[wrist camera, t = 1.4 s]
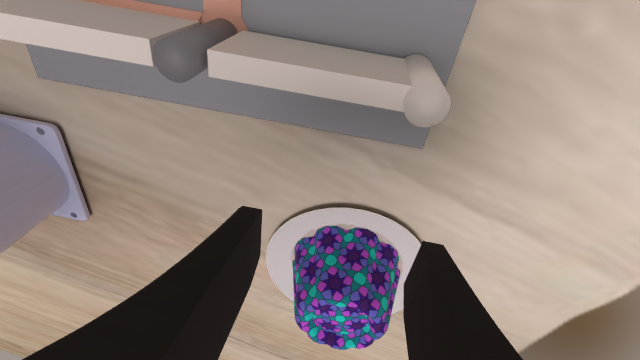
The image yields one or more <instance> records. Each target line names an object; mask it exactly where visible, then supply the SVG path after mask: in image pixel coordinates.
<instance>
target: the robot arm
mask: <svg viewBox="0 0 640 360" xmlns="http://www.w3.org/2000/svg"><path fill="white" fill-rule="evenodd" d="M49 215H55V216H60V217H65V218H70V219H75V220H80V221H86V220H87V219H89V217H90V213H89V211H88V208H87V205H86V202H85V200H84V197H83V194H82V191H81V188H80V186H79V183H78V180H77V177H76V174H75V172H74V169H73V166H72V163H71V161H70V158H69V155H68V152H67V149H66V147H65V144H64V141H63V138H62V135H61V133H60V130H59V129H58V128H57V126H55V125H54V124H51V123H46V122H41V121H36V120H31V119H25V118H20V117H15V116H10V115H4V114H0V254H1V253H2V252H4V251H5V250H6V249H7V248H9V247H10V246H11V245H13V244H14V243H15V242H16V241H18V240H19V239H20V238H21V237H23V236H24V235H25V234H27V233H28V232H29V231H30V230H32V229H33V228H34V227H35V226H37V225H38V224H39V223H41V222H42V221H43V220H44V219H46V218H47V217H48V216H49ZM261 224H262V210H261V209H256V208H251V207H246V206H242V207H240V208H239V209H238V210H237V211H236V212H235V213H234V214H233V215H232V216H231V217H230V218H229V219H227V220H226V221H225V222H224V223H223V224H222V225H221V226H220V227H219V228H218V229H217V230H216V231H215V232H213V233H212V234H211V235H210V236H209V237H208V238H207V239H205V240H204V241H203V242H202V243H201V244H200V245H199V246H197V247H196V248H195V249H194V250H193V251H192V252H190V253H189V254H188V255H187V256H185V257H184V258H183V259H182V260H180V261H179V262H178V263H176V264H175V265H174V266H173V267H171V268H170V269H169V270H167V271H166V272H165V273H164V274H162V275H161V276H160V277H158V278H157V279H155V280H154V281H153V282H151V283H150V284H148V285H147V286H146V287H144V288H143V289H141V290H140V291H138V292H137V293H135V294H134V295H132V296H131V297H129V298H128V299H126V300H125V301H123V302H122V303H120V304H119V305H117V306H115V307H114V308H112V309H111V310H109V311H107V312H106V313H104V314H103V315H101V316H99V317H98V318H96V319H95V320H93V321H91V322H89V323H88V324H86V325H84V326H83V327H81V328H79V329H77V330H76V331H74V332H72V333H70V334H69V335H67V336H65V337H63V338H61V339H59V340H57V341H56V342H54V343H52V344H50V345H48V346H46V347H45V348H43V349H41V350H39V351H37V352H35V353H33V354H32V355H30V356H28V357H26V358H24V359H23V360H218V358H219V356H220V353H221V351H222V349H223V347H224V344H225V342H226V340H227V338H228V335H229V333H230V331H231V329H232V326H233V324H234V322H235V320H236V317H237V315H238V313H239V311H240V309H241V306H242V304H243V302H244V299H245V297H246V295H247V293H248V290H249V288H250V286H251V283H252V280H253V277H254V274H255V270H256V267H257V264H258V261H259V257H260V247H261ZM403 304H404V324H405V332H406V341H407V349H408V357H409V360H523V359H522V358H521V357H520V355H519V354H518V353H517V351H516V350H515V349H514V348H513V346H512V345H511V344H510V342H509V341H508V340H507V338H506V337H505V336H504V334H503V333H502V332H501V330H500V329H499V328H498V326H497V325H496V324H495V322H494V321H493V319H492V318H491V317H490V315H489V314H488V312H487V311H486V309H485V308H484V307H483V305H482V304H481V302H480V301H479V299H478V298H477V296H476V295H475V293H474V292H473V290H472V289H471V287H470V286H469V284H468V283H467V281H466V280H465V278H464V277H463V275H462V274H461V272H460V270H459V269H458V267H457V266H456V264H455V263H454V261H453V259H452V258H451V256H450V255H449V253H448V252H447V250H446V249H445V247H444V245H441V244H436V243H431V242H425V241H423V242H422V244H421V246H420V249H419V251H418V253H417V255H416V258H415V260H414V262H413V264H412V267H411V269H410V271H409V273H408V275H407V278H406V280H405V282H404V299H403Z"/></svg>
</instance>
